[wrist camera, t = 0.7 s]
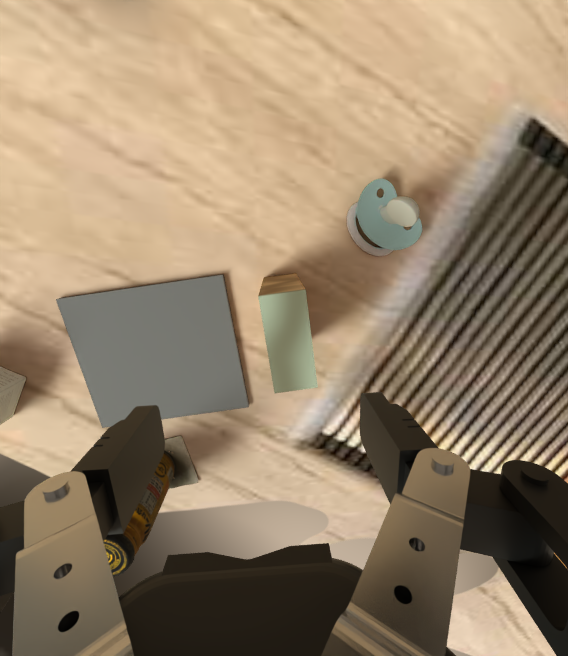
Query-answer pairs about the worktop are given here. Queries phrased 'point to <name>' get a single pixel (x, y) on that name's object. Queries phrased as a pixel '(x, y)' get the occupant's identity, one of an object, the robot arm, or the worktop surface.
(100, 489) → the robot arm
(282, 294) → the block
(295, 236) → the worktop surface
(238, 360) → the mat
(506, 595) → the worktop surface
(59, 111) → the worktop surface
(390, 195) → the pacifier
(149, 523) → the condiment
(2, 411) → the product box
